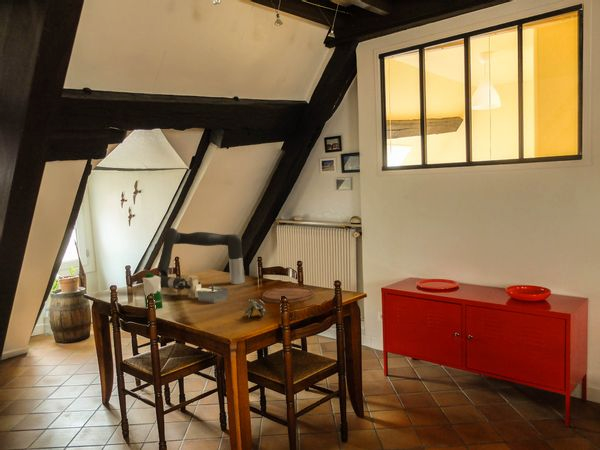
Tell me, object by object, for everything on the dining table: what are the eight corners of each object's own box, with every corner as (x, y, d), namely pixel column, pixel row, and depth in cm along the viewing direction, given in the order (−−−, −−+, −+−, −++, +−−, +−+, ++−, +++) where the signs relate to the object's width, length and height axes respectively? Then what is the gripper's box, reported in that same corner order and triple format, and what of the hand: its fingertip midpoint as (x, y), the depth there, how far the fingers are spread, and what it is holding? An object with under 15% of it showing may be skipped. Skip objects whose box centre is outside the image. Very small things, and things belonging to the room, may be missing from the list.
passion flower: (262, 326, 256) (271, 310, 250) (244, 326, 250) (252, 310, 244) (255, 310, 264) (263, 294, 258) (237, 310, 258) (245, 294, 252)
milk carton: (157, 304, 290) (154, 271, 287) (164, 307, 283) (161, 273, 281) (143, 308, 284) (140, 274, 282) (150, 311, 277) (147, 276, 275)
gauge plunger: (194, 296, 299) (193, 283, 298) (202, 294, 304) (201, 280, 303) (210, 299, 291) (209, 285, 290) (218, 296, 297) (217, 282, 296)
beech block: (188, 297, 303) (186, 276, 302) (194, 295, 307) (192, 275, 305) (193, 298, 301) (192, 277, 299) (199, 296, 304) (197, 275, 303)
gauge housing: (198, 301, 293) (197, 290, 293) (212, 296, 303) (211, 286, 303) (214, 303, 286) (213, 292, 285) (228, 298, 296) (227, 288, 295)
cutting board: (304, 305, 273) (304, 300, 272) (252, 302, 284) (252, 298, 284) (321, 291, 303) (321, 287, 302) (274, 289, 314) (274, 285, 313)
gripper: (167, 279, 304) (186, 281, 296) (184, 275, 316) (203, 277, 307) (168, 291, 305) (187, 294, 296) (185, 286, 317) (204, 288, 308)
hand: (195, 285), depth 302 cm, fingers open, 8 cm apart
